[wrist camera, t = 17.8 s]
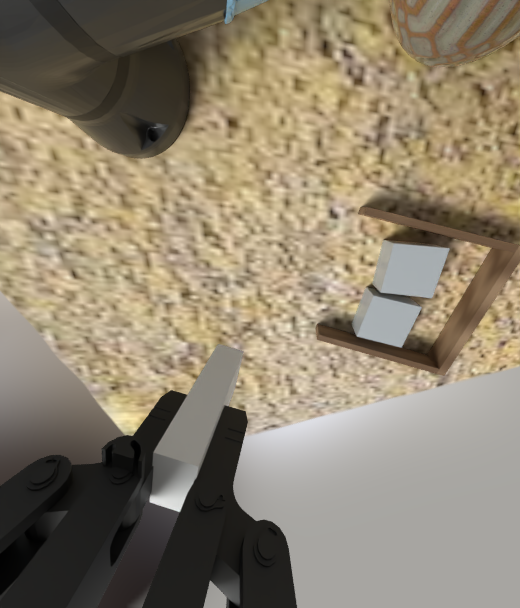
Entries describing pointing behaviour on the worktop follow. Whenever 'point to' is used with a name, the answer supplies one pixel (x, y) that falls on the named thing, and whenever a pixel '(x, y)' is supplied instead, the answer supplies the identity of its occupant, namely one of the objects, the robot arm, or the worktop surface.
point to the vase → (454, 29)
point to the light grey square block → (409, 268)
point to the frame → (465, 314)
